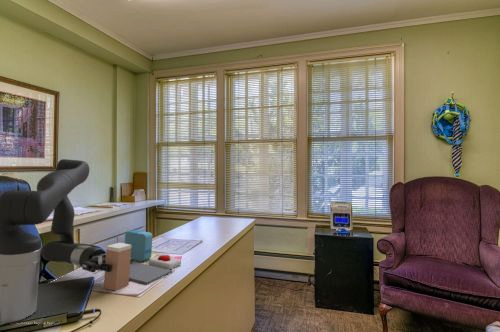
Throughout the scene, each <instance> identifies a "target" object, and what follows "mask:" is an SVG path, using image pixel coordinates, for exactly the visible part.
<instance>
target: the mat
mask: <svg viewBox="0 0 500 332" xmlns="http://www.w3.org/2000/svg"><path fill="white" fill-rule="evenodd" d="M171 272H172V273H173V269H171V270H169V269H164V268H160V267H155V266H151V265H149V264H145V263H143V262H142V263H141V262H137V261H132V264H130V273H129V281H130V282H131V281H132V282H136V283H140V284H143V285H147V284H148V285H149V283H150V284H151V282H152V283H154V282H155V280H156V281H158V280H160V279H162V278H163V277H162V276H164V277H166V276H168V275H170V274H172V273H171ZM169 273H170V274H169ZM167 274H168V275H167ZM165 275H166V276H165ZM161 277H162V278H161ZM159 278H160V279H159ZM157 279H158V280H157ZM153 281H154V282H153Z"/></svg>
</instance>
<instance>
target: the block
mask: <svg viewBox="0 0 500 332" xmlns="http://www.w3.org/2000/svg"><path fill="white" fill-rule="evenodd" d="M105 249H106V250H105V253H106V262H105V263H106V264H110V265H112V271H111V272H106V271H104V281H103V288H105V289H107V290H111V291H114V292H115V291H118V290H121V289H123V288H125V287H128V286H129V285H130V280H129V273H130V259H131V245H130V244H125V242H117V243H113V244H109V245H106V247H105Z"/></svg>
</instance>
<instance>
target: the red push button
mask: <svg viewBox="0 0 500 332" xmlns="http://www.w3.org/2000/svg"><path fill="white" fill-rule="evenodd" d="M148 265H151V266H155V267H160V268H164V269H169V270H170V269H171V270H173V269H175V268H177V266H178V267H179V265H180V266H181V265H182V260H181V259H179V258H175V257H174V256H173V255H172V256H171V255H169V254H163V255H159V256H156V257H151V258H150V259H148ZM172 268H173V269H172Z"/></svg>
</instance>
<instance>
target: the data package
mask: <svg viewBox="0 0 500 332" xmlns="http://www.w3.org/2000/svg"><path fill="white" fill-rule="evenodd" d="M124 243H125V244H130V245H131V258H132V261H136V262H137V261H139V262H145V261H148V260H150V259H152V251H153V250H152V247H153V233H152V232H149V231H142V230H138V229H133V230H128V231H126V232H125V234H124Z"/></svg>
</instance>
